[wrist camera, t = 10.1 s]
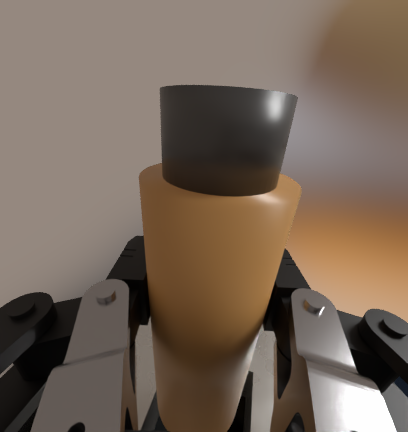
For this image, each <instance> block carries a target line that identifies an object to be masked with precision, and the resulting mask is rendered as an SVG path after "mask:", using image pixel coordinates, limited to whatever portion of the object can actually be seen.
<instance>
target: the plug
mask: <svg viewBox="0 0 408 432" xmlns="http://www.w3.org/2000/svg"><path fill="white" fill-rule="evenodd" d="M297 99H298V97H297V96H295V95H292V94H288V93H283V92H277V91H270V90H263V89H253V88H243V87H230V86H211V85H176V86H166V87H161V88H160V109H161V141H162V142H161V143H162V163H160V164H156V165H153V166H150V167H148V168H146V169H144V170H143V171H142V172H141V173H140V175H139V184H140V196H141V209H142V221H143V232H144V245H145V257H146V270H147V282H148V294H149V306H150V318H151V331H152V343H153V355H154V367H155V379H156V391H157V403H158V410H159V414H160V417H161V420H162V422H163V424H164V426H165V428H166V429H167V431H170V432H227V430H228V429H229V428H230V426H231V424H232V422H233V420H234V417H235V414H236V411H237V407H238V404H239V401H240V397H241V394H242V390H243V387H244V384H245V380H246V377H247V374H248V370H249V367H250V364H251V360H252V357H253V353H254V350H255V347H256V343H257V340H258V337H259V333H260V330H261V327H262V323H263V320H264V316H265V313H266V310H267V306H268V303H269V300H270V296H271V293H272V290H273V286H274V283H275V279H276V276H277V273H278V269H279V266H280V263H281V259H282V256H283V253H284V249H285V246H286V242H287V239H288V236H289V232H290V229H291V226H292V222H293V219H294V215H295V212H296V208H297V206H298V202H299V199H300V195H301V187H300V185H299V184H298V183H297V182H295V181H294V180H292V179H291V178H289V177H287V176H285V175H283V174H280V171H281V167H282V163H283V159H284V154H285V150H286V146H287V142H288V137H289V133H290V129H291V125H292V120H293V116H294V112H295V108H296V103H297Z"/></svg>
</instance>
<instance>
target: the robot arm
mask: <svg viewBox="0 0 408 432" xmlns="http://www.w3.org/2000/svg"><path fill="white" fill-rule="evenodd" d="M149 319H150V306H149V294H148V282H147V270H146V257H145V245H144V235H143V236H135V237H134V238H133V239H131V240H130V241H129V242H128V243H127V245H126V247H125V248H124V250H123V251H122V253H121V255H120V257H119V258H118V260H117V262H116V263H115V265H114V267H113V268H112V270H111V272H110V273H109V275H108V277H107V278H106V280H104V281H101V282H99V283H97V284H95V285H93V286H92V287H90V288H89V289H88V290H87V291H86V292H85V294H84V295H83V297H80V298H76V299H71V300H67V301H62V302H57V303H54V302H53V300H52V297H51V296H50V295H49V294H47V293H43V292H36V293H30V294H26V295H23V296H20V297H18V298H16V299H14V300H12V301H10V302H9V303H7V304H5V305H4V306H3V307H1V308H0V374H1V373H2V372H3V371H4V370H5V369H6V368H7V367H9V366H10V365H11V364H12V363H13V364H14V366H13V367H12V368H10V369H9V370H8V371H7V372H6V373H5V374H4V375H3V376H2V377H1V378H0V432H18V431H19V429H20V428H21V427H22V426H23V424H24V423H25V422H26V421H27V419H28V418H29V417H30V416H31V415H32V413H33V412H34V411H35V410H36V408H37V407H38V406H39V407H38V410H37V413H36V416H35V419H34V422H33V425H32V428H31V431H30V432H170V431H149V430H138V414H137V393H136V336H137V332H138V329H139V326H140V325H148V323H149ZM262 325H263V328H264V331H274V334H275V337H276V339H275V342H274V347H273V352H274V404H273V413H272V418H271V426H270V432H408V398H407V397H406V396H405V395H404V393H403V392H402V391H401V390H400V389H399V388H398V387H397V386H396V385H395V384H394V383H393V382H394V381H395V380H396V379H397V378H398V377H399V376H400V377H401V378H402V379H403V380H404V381H405V382H406V383H407V384H408V323H407V322H406V321H404V320H403V319H401V318H400V317H398V316H396V315H394V314H392V313H389V312H387V311H384V310H380V309H370V310H368V311H367V312H366V313H365V315H364V316H363V318H362V317H358V316H355V315H351V314H348V313H345V312H342V311H339V310H336V308H335V307H334V305H333V304H332V303H331V301H330V300H329V299H327V298H326V297H325V296H324V295H322V294H320V293H318V292H316V291H314V290H311V288H310V287H309V285H308V284H307V282H306V280H305V279H304V277H303V276H302V274H301V272H300V270H299V269H298V267H297V266H296V264H295V262H294V260H292V257H291V256H290V254H289V252H288V251H287V250H286V249H284V253H283V256H282V259H281V263H280V266H279V269H278V273H277V276H276V279H275V283H274V286H273V290H272V293H271V296H270V300H269V303H268V306H267V310H266V313H265V316H264V320H263V323H262Z"/></svg>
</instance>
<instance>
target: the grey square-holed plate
mask: <svg viewBox="0 0 408 432" xmlns="http://www.w3.org/2000/svg"><path fill="white" fill-rule="evenodd" d="M275 339H276V337H275V334H274V331H264V328H263V325H262V327H261V330H260V333H259V337H258V340H257V343H256V347H255V350H254V353H253V357H252V360H251V364H250V367H249V370H248V374H247V377H246V380H245V384H244V387H243V390H242V394H241V396H243V397H245V412H244V426H243V432H270V426H271V418H272V413H273V404H274V352H273V347H274V342H275ZM136 393H137V414H138V430H149V431H154V429H155V426H156V423H157V420H158V417H159V410H158V403H157V391H156V379H155V367H154V355H153V343H152V331H151V318H150V319H149V323H148V325H140V326H139V329H138V332H137V336H136Z"/></svg>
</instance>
